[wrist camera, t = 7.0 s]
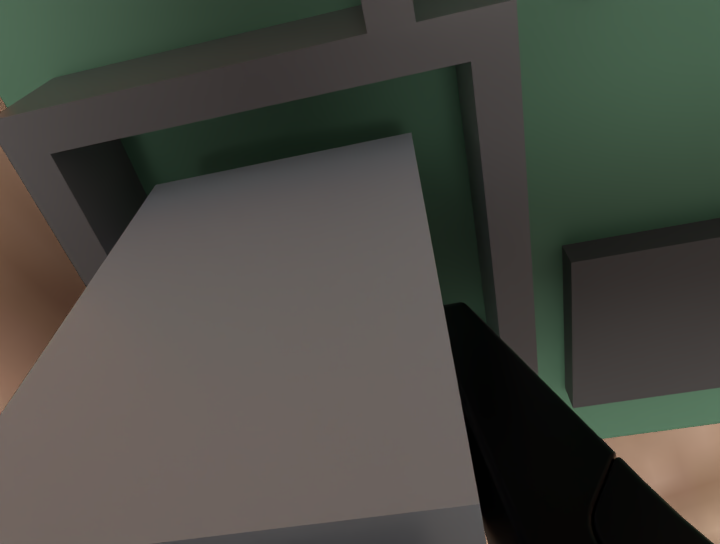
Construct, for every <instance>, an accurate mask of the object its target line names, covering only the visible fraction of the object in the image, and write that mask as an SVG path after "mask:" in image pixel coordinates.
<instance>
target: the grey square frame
mask: <svg viewBox="0 0 720 544" xmlns="http://www.w3.org/2000/svg"><path fill="white" fill-rule="evenodd" d="M413 6H414V13H415V19H416V22H415V23H411V24H407V25H402V26H398V27H394V28H389V29H385V30H381V31H376V32H372V33H368V34H367V29H366V24H365V19H364V14H363V9H362V5H359V6H355V7H350V8H346V9H342V10H338V11H333V12H329V13H325V14H321V15H317V16H312V17H308V18H304V19H300V20H296V21H291V22H287V23H283V24H279V25H275V26H270V27H266V28H262V29H258V30H253V31H249V32H245V33H241V34H237V35H232V36H228V37H224V38H220V39H216V40H211V41H207V42H203V43H199V44H195V45H190V46H186V47H182V48H178V49H173V50H169V51H165V52H161V53H157V54H152V55H148V56H144V57H140V58H136V59H131V60H127V61H123V62H119V63H115V64H110V65H106V66H102V67H98V68H94V69H89V70H85V71H81V72H77V73H72V74H68V75H64V76H60V77H56V78H52V79H51V80H49V81H48V82H46V83H45V84H43V85H42V86H40V87H38V88H37V89H35V90H34V91H32V92H31V93H29V94H28V95H26V96H25V97H23V98H22V99H20V100H18V101H17V102H15V103H14V104H12V105H11V106H9V107H8V108H6V109H5V110H3V111H2V112H0V145H1V147H2V149H3V150H4V152H5V154H6V155H7V157H8V159H9V160H10V162H11V164H12V165H13V167H14V169H15V170H16V172H17V173H18V175H19V177H20V178H21V180H22V182H23V183H24V185H25V187H26V188H27V190H28V192H29V193H30V195H31V197H32V198H33V200H34V201H35V203H36V205H37V206H38V208H39V210H40V211H41V213H42V215H43V216H44V218H45V220H46V221H47V223H48V225H49V226H50V228H51V229H52V231H53V233H54V234H55V236H56V238H57V239H58V241H59V243H60V244H61V246H62V248H63V249H64V251H65V253H66V254H67V256H68V257H69V259H70V261H71V262H72V264H73V266H74V267H75V269H76V271H77V272H78V274H79V276H80V277H81V279H82V281H83V282H84V284H85V285H86V287H87V286H88V284H89V283H90V281H91V280H92V278H93V277H94V275H95V274H96V272H97V271H98V269H99V268H100V266H101V265H102V263H103V262H104V260H105V259H106V257H107V256H108V254H109V253H110V252H111V250H112V249H113V247H114V246H115V244H116V243H117V241H118V240H119V238H120V237H121V235H122V234H123V232H124V231H125V229H126V228H127V226H128V225H129V223H130V222H131V220H132V219H133V217H134V216H135V215H136V213H137V212H138V210H139V209H140V207H141V206H142V204H143V203H144V201H145V200H146V198H147V195H146V193H145V191H144V188H143V186H142V184H141V182H140V180H139V178H138V176H137V174H136V172H135V170H134V168H133V165H132V163H131V161H130V159H129V157H128V155H127V153H126V151H125V149H124V147H123V145H122V143H121V140H120V138H125V137H129V136H134V135H139V134H143V133H148V132H152V131H157V130H161V129H166V128H170V127H175V126H180V125H184V124H189V123H193V122H198V121H202V120H207V119H211V118H216V117H221V116H225V115H230V114H234V113H239V112H243V111H248V110H252V109H257V108H262V107H266V106H271V105H275V104H280V103H284V102H289V101H293V100H298V99H303V98H307V97H312V96H316V95H321V94H325V93H330V92H335V91H339V90H344V89H348V88H353V87H357V86H362V85H366V84H371V83H376V82H380V81H385V80H389V79H394V78H398V77H403V76H407V75H412V74H417V73H421V72H426V71H430V70H435V69H439V68H444V67H448V66H453V65H455V66H456V74H457V82H458V90H459V99H460V107H461V115H462V123H463V132H464V140H465V148H466V157H467V165H468V173H469V181H470V190H471V198H472V206H473V214H474V223H475V231H476V239H477V248H478V256H479V264H480V272H481V281H482V289H483V297H484V305H485V314H486V322H487V325H488V326H489V327H490V328H491V329H492V330H493V331H494V332H495V333H496V334H497V335H498V336H499V337H500V338H501V339H502V340H503V341H504V342H505V343H506V344H507V345H508V346H509V347H510V348H511V349H512V350H513V351H514V352H515V353H516V354H517V355H518V356H519V357H520V358H521V359H522V360H523V361H524V362H525V363H526V364H527V365H528V366H529V367H530V368H531V369H532V370H533V371H534V372H535V373H536V374H537V375H538V360H537V343H536V326H535V309H534V291H533V274H532V257H531V240H530V223H529V206H528V188H527V171H526V154H525V137H524V120H523V103H522V85H521V68H520V51H519V34H518V17H517V0H413Z"/></svg>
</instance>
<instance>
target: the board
mask: <svg viewBox="0 0 720 544" xmlns="http://www.w3.org/2000/svg"><path fill="white" fill-rule="evenodd" d="M359 5H362V9H363V14H364V19H365V24H366V29H367V34H368V33H372V32H376V31H381V30H385V29H389V28H394V27H398V26H402V25H407V24H411V23H415V22H416V19H415V13H414V6H413V0H0V96H1V98H2V100H3V102H4V103H5V105H6V107H7V108H8V107H9V106H11V105H12V104H14V103H15V102H17V101H18V100H20V99H22V98H23V97H25V96H26V95H28V94H29V93H31V92H32V91H34V90H35V89H37V88H38V87H40V86H42V85H43V84H45V83H46V82H48V81H49V80H51V79H52V78H56V77H60V76H64V75H68V74H72V73H77V72H81V71H85V70H89V69H94V68H98V67H102V66H106V65H110V64H115V63H119V62H123V61H127V60H131V59H136V58H140V57H144V56H148V55H152V54H157V53H161V52H165V51H169V50H173V49H178V48H182V47H186V46H190V45H195V44H199V43H203V42H207V41H211V40H216V39H220V38H224V37H228V36H232V35H237V34H241V33H245V32H249V31H253V30H258V29H262V28H266V27H270V26H275V25H279V24H283V23H287V22H291V21H296V20H300V19H304V18H308V17H312V16H317V15H321V14H325V13H329V12H333V11H338V10H342V9H346V8H350V7H355V6H359ZM517 17H518V34H519V51H520V68H521V85H522V103H523V120H524V137H525V154H526V171H527V188H528V206H529V223H530V240H531V257H532V274H533V291H534V309H535V326H536V343H537V360H538V376H539V377H540V378H541V379H542V380H543V381H544V382H545V383H546V384H547V385H548V386H549V387H550V388H551V389H552V390H553V391H554V392H555V393H556V394H557V395H558V396H559V397H560V398H561V399H562V400H563V401H564V402H565V403H566V404H567V405H568V406H569V407H570V408H571V409H572V410H573V411H574V412H575V413H576V414H577V415H578V416H579V417H580V418H581V419H582V420H583V421H584V422H585V423H586V424H587V425H588V426H589V427H590V428H591V429H592V430H593V431H594V432H595V433H596V434H597V435H598V436H599V437H600V438H601V439H604V438H612V437H619V436H627V435H634V434H642V433H649V432H657V431H664V430H672V429H679V428H687V427H694V426H702V425H709V424H717V423H720V0H517ZM406 133H411V134H412V139H413V144H414V150H415V155H416V161H417V166H418V172H419V177H420V182H421V188H422V193H423V199H424V204H425V210H426V215H427V220H428V226H429V231H430V237H431V242H432V248H433V253H434V258H435V264H436V269H437V275H438V280H439V286H440V291H441V296H442V302H443V305H446V304H452V303H458V302H463V303H466V304H467V305H468V306H469V307H470V308H471V309H472V310H473V311H474V312H475V313H476V314H477V315H478V316H479V317H480V318H481V319H482V320H483V321H484V322H485V323H486V324H487V322H486V314H485V305H484V297H483V289H482V281H481V272H480V264H479V256H478V248H477V239H476V231H475V223H474V214H473V206H472V198H471V190H470V181H469V173H468V165H467V157H466V148H465V140H464V132H463V123H462V115H461V107H460V99H459V90H458V82H457V74H456V66H455V65H453V66H448V67H444V68H439V69H435V70H430V71H426V72H421V73H417V74H412V75H407V76H403V77H398V78H394V79H389V80H385V81H380V82H376V83H371V84H366V85H362V86H357V87H353V88H348V89H344V90H339V91H335V92H330V93H325V94H321V95H316V96H312V97H307V98H303V99H298V100H293V101H289V102H284V103H280V104H275V105H271V106H266V107H262V108H257V109H252V110H248V111H243V112H239V113H234V114H230V115H225V116H221V117H216V118H211V119H207V120H202V121H198V122H193V123H189V124H184V125H180V126H175V127H170V128H166V129H161V130H157V131H152V132H148V133H143V134H139V135H134V136H129V137H125V138H120V140H121V143H122V145H123V147H124V149H125V151H126V153H127V155H128V157H129V159H130V161H131V163H132V165H133V168H134V170H135V172H136V174H137V176H138V178H139V180H140V182H141V184H142V186H143V188H144V191H145V193H146V195H147V197H148V195H149V194H150V192H151V191H152V189H153V188H154V186H155V185H157V184H162V183H167V182H172V181H177V180H182V179H187V178H192V177H196V176H201V175H206V174H211V173H216V172H221V171H226V170H231V169H235V168H240V167H245V166H250V165H255V164H260V163H265V162H269V161H274V160H279V159H284V158H289V157H294V156H299V155H304V154H308V153H313V152H318V151H323V150H328V149H333V148H338V147H343V146H347V145H352V144H357V143H362V142H367V141H372V140H377V139H382V138H386V137H391V136H396V135H401V134H406Z"/></svg>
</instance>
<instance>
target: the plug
mask: <svg viewBox="0 0 720 544" xmlns="http://www.w3.org/2000/svg"><path fill="white" fill-rule="evenodd" d="M0 544H486V538H485V532H484V526H483V520H482V514H481V508H480V502H479V497H478V492H477V486H476V481H475V475H474V470H473V464H472V459H471V454H470V448H469V443H468V437H467V432H466V427H465V421H464V416H463V410H462V405H461V399H460V394H459V389H458V383H457V378H456V372H455V367H454V361H453V356H452V351H451V345H450V340H449V334H448V329H447V323H446V318H445V313H444V307H443V302H442V296H441V291H440V286H439V280H438V275H437V269H436V264H435V258H434V253H433V248H432V242H431V237H430V231H429V226H428V220H427V215H426V210H425V204H424V199H423V193H422V188H421V182H420V177H419V172H418V166H417V161H416V155H415V150H414V144H413V139H412V134H411V133H406V134H401V135H396V136H391V137H386V138H382V139H377V140H372V141H367V142H362V143H357V144H352V145H347V146H343V147H338V148H333V149H328V150H323V151H318V152H313V153H308V154H304V155H299V156H294V157H289V158H284V159H279V160H274V161H269V162H265V163H260V164H255V165H250V166H245V167H240V168H235V169H231V170H226V171H221V172H216V173H211V174H206V175H201V176H196V177H192V178H187V179H182V180H177V181H172V182H167V183H162V184H157V185H155V186H154V188H153V189H152V191H151V192H150V194H149V195H148V197H147V198H146V200H145V201H144V203H143V204H142V206H141V207H140V209H139V210H138V212H137V213H136V215H135V216H134V217H133V219H132V220H131V222H130V223H129V225H128V226H127V228H126V229H125V231H124V232H123V234H122V235H121V237H120V238H119V240H118V241H117V243H116V244H115V246H114V247H113V249H112V250H111V252H110V253H109V254H108V256H107V257H106V259H105V260H104V262H103V263H102V265H101V266H100V268H99V269H98V271H97V272H96V274H95V275H94V277H93V278H92V280H91V281H90V283H89V284H88V286H87V287H86V289H85V290H84V291H83V293H82V294H81V296H80V297H79V299H78V300H77V302H76V303H75V305H74V306H73V308H72V309H71V311H70V312H69V314H68V315H67V317H66V318H65V320H64V321H63V323H62V324H61V326H60V327H59V328H58V330H57V331H56V333H55V334H54V336H53V337H52V339H51V340H50V342H49V343H48V345H47V346H46V348H45V349H44V351H43V352H42V354H41V355H40V357H39V358H38V360H37V361H36V363H35V364H34V365H33V367H32V368H31V370H30V371H29V373H28V374H27V376H26V377H25V379H24V380H23V382H22V383H21V385H20V386H19V388H18V389H17V391H16V392H15V394H14V395H13V397H12V398H11V400H10V401H9V402H8V404H7V405H6V407H5V408H4V410H3V411H2V413H1V414H0Z"/></svg>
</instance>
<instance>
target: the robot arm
mask: <svg viewBox="0 0 720 544" xmlns="http://www.w3.org/2000/svg"><path fill="white" fill-rule="evenodd" d="M443 307H444V313H445V318H446V323H447V329H448V334H449V340H450V345H451V351H452V356H453V361H454V367H455V372H456V378H457V383H458V389H459V394H460V399H461V405H462V410H463V416H464V421H465V427H466V432H467V437H468V443H469V448H470V454H471V459H472V464H473V470H474V475H475V481H476V486H477V492H478V497H479V502H480V508H481V514H482V520H483V526H484V531H485V534H486V537H487V541H488V544H713V543H712V542H711V541H710V540H709V539H707V538H706V537H705V536H704V535H703V534H702V533H700V532H699V531H698V530H697V529H696V528H694V527H693V526H692V525H691V524H690V523H689V522H687V521H686V520H685V519H684V518H683V517H682V516H681V515H679V514H678V513H677V512H676V511H675V510H674V509H673V508H672V507H671V506H670V505H669V504H668V503H667V502H666V501H665V500H664V499H662V498H661V497H660V496H659V495H658V494H657V493H656V492H655V491H654V490H653V489H652V488H651V487H650V486H649V485H648V484H647V483H645V482H644V481H643V480H642V479H641V478H640V477H639V476H638V475H637V474H636V473H635V472H634V471H633V470H632V469H631V467H630V466H629V465H628V464H627V463H626V462H625V461H624V460H623V459H621V458H619V457H617V458H616V453H615V452H614V451H613V450H612V449H611V448H610V447H609V446H608V445H607V444H606V443H605V442H604V441H603V440H602V439H601V438H600V437H599V436H598V435H597V434H596V433H595V432H594V431H593V430H592V429H591V428H590V427H589V426H588V425H587V424H586V423H585V422H584V421H583V420H582V419H581V418H580V417H579V416H578V415H577V414H576V413H575V412H574V411H573V410H572V409H571V408H570V407H569V406H568V405H567V404H566V403H565V402H564V401H563V400H562V399H561V398H560V397H559V396H558V395H557V394H556V393H555V392H554V391H553V390H552V389H551V388H550V387H549V386H548V385H547V384H546V383H545V382H544V381H543V380H542V379H541V378H540V377H539V376H538V375H537V374H536V373H535V372H534V371H533V370H532V369H531V368H530V367H529V366H528V365H527V364H526V363H525V362H524V361H523V360H522V359H521V358H520V357H519V356H518V355H517V354H516V353H515V352H514V351H513V350H512V349H511V348H510V347H509V346H508V345H507V344H506V343H505V342H504V341H503V340H502V339H501V338H500V337H499V336H498V335H497V334H496V333H495V332H494V331H493V330H492V329H491V328H490V327H489V326H488V325H487V324H486V323H485V322H484V321H483V320H482V319H481V318H480V317H479V316H478V315H477V314H476V313H475V312H474V311H473V310H472V309H471V308H470V307H469V306H468V305H467V304H466V303H463V302H458V303H452V304H446V305H443Z"/></svg>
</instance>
